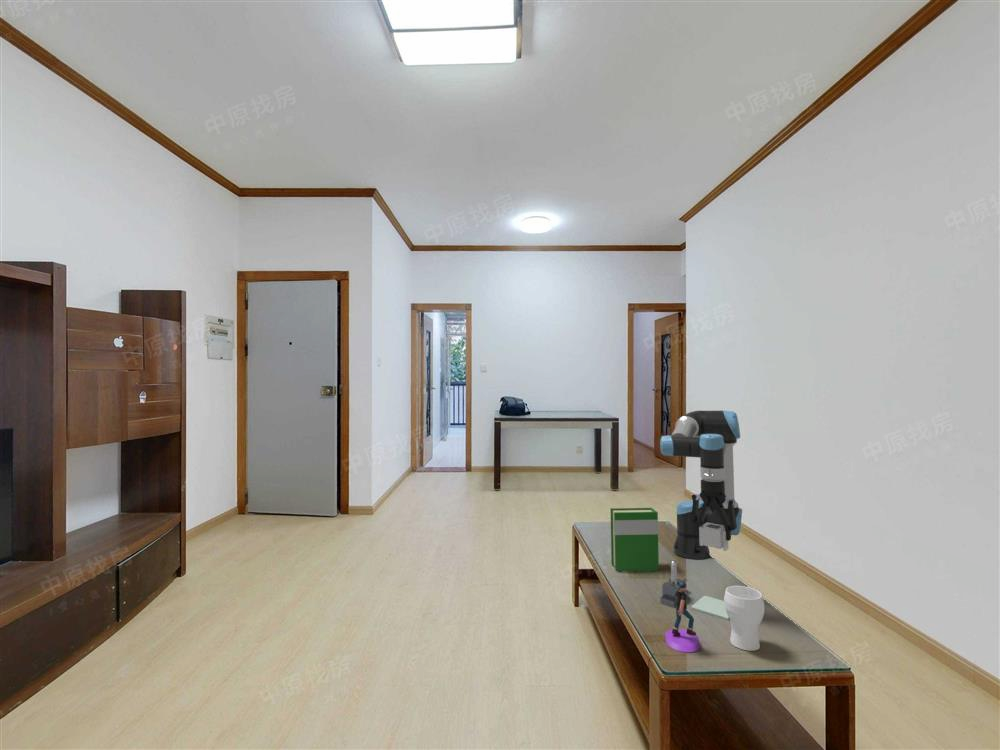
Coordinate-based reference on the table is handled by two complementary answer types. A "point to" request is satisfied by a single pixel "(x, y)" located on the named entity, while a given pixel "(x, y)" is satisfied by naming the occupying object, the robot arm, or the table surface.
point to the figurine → (679, 637)
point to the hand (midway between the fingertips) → (713, 546)
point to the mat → (711, 607)
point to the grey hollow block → (711, 535)
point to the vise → (671, 587)
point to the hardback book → (634, 539)
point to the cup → (744, 616)
